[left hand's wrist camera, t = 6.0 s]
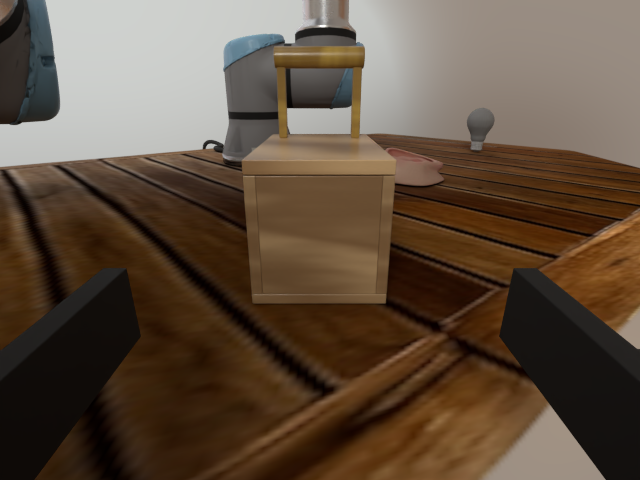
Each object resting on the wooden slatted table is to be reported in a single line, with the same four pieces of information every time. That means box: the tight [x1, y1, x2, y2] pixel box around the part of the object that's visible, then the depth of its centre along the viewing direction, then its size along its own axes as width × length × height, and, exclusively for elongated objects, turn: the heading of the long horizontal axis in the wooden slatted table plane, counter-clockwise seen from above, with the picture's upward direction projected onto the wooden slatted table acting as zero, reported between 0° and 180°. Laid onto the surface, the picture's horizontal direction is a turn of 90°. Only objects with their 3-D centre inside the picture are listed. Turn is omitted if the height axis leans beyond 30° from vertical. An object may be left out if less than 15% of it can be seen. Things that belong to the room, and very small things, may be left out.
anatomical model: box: [385, 148, 444, 186], centre depth 62 cm, size 13×4×12 cm
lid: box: [242, 46, 396, 175], centre depth 27 cm, size 15×9×8 cm, turn 0°
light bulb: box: [467, 108, 494, 151], centre depth 89 cm, size 6×6×10 cm
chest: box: [243, 175, 395, 304], centre depth 30 cm, size 15×9×9 cm, turn 0°
